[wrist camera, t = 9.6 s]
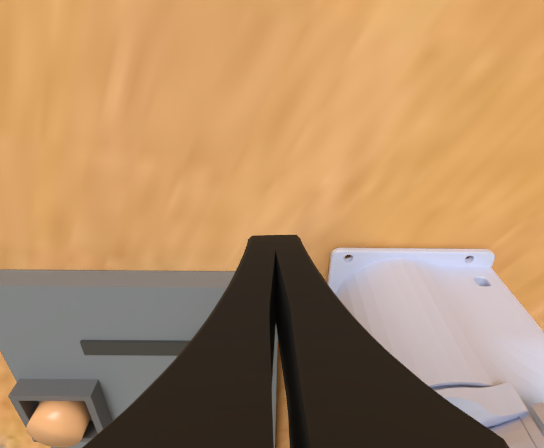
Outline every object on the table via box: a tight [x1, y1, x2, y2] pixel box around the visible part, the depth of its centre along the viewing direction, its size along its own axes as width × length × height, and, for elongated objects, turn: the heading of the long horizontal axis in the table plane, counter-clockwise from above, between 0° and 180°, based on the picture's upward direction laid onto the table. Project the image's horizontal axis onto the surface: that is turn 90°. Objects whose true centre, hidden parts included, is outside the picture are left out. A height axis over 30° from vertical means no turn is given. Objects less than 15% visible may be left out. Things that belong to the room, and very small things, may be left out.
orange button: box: [26, 401, 91, 448], centre depth 26 cm, size 4×4×2 cm
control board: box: [0, 270, 278, 448], centre depth 27 cm, size 18×22×3 cm
